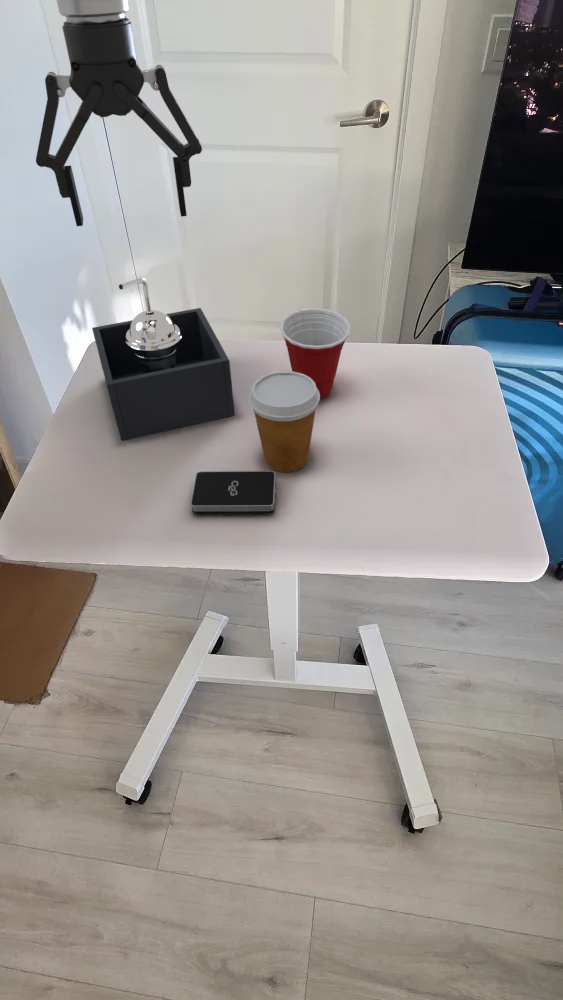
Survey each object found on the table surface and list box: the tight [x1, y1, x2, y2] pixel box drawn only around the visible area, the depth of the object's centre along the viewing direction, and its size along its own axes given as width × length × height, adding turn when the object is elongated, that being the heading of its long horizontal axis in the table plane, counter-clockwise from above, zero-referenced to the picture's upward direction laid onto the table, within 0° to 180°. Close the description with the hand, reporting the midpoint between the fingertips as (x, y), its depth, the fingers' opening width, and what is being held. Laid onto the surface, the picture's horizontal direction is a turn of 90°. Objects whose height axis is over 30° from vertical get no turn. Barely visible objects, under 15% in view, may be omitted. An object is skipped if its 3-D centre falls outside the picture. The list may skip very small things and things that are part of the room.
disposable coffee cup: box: [248, 370, 321, 473], centre depth 87 cm, size 10×10×12 cm
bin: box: [91, 307, 236, 442], centre depth 100 cm, size 18×18×10 cm
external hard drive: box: [190, 470, 277, 515], centre depth 84 cm, size 7×11×2 cm, turn 89°
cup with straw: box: [118, 277, 181, 374], centre depth 96 cm, size 8×9×20 cm
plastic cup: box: [279, 307, 352, 400], centre depth 99 cm, size 11×11×12 cm
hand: (132, 218), depth 83 cm, fingers open, 13 cm apart
